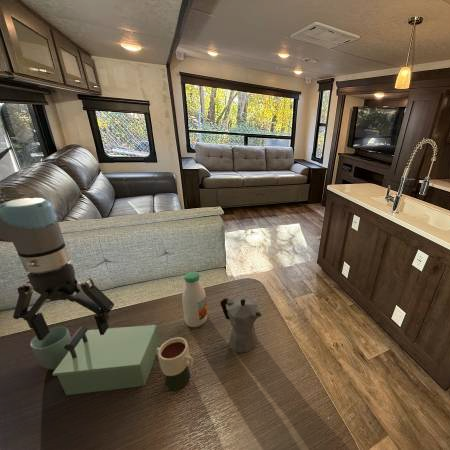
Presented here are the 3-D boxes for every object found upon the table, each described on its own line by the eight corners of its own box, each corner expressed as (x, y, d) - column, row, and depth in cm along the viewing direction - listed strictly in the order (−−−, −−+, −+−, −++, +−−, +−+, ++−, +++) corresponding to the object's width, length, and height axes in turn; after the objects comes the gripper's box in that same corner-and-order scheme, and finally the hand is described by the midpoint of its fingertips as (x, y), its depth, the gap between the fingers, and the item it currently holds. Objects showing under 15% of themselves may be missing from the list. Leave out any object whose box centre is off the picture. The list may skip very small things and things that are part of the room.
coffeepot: (266, 338, 86) (268, 298, 79) (251, 360, 78) (252, 317, 71) (230, 322, 91) (229, 283, 84) (213, 341, 83) (210, 299, 76)
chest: (66, 395, 64) (57, 375, 61) (94, 350, 76) (88, 332, 73) (144, 385, 68) (140, 366, 65) (160, 344, 80) (156, 326, 77)
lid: (53, 375, 61) (45, 359, 59) (85, 332, 73) (79, 316, 71) (140, 366, 65) (136, 350, 63) (156, 326, 77) (154, 311, 75)
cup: (36, 365, 71) (24, 340, 67) (70, 346, 77) (60, 322, 73) (49, 379, 68) (37, 353, 64) (83, 357, 74) (73, 333, 70)
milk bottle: (192, 331, 86) (187, 285, 78) (180, 320, 90) (174, 275, 82) (211, 319, 92) (208, 274, 84) (199, 309, 96) (195, 266, 88)
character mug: (202, 374, 73) (199, 342, 68) (187, 398, 66) (182, 365, 61) (170, 364, 75) (164, 332, 69) (152, 387, 68) (144, 354, 63)
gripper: (-37, 278, 51) (4, 351, 59) (102, 272, 56) (122, 340, 64) (-4, 258, 57) (29, 326, 66) (118, 255, 63) (133, 318, 71)
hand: (75, 333), depth 65 cm, fingers open, 13 cm apart
